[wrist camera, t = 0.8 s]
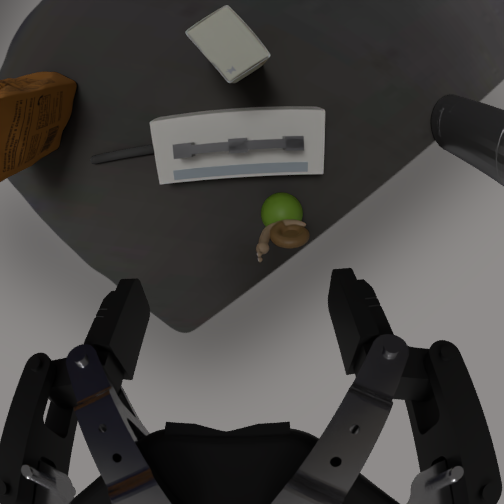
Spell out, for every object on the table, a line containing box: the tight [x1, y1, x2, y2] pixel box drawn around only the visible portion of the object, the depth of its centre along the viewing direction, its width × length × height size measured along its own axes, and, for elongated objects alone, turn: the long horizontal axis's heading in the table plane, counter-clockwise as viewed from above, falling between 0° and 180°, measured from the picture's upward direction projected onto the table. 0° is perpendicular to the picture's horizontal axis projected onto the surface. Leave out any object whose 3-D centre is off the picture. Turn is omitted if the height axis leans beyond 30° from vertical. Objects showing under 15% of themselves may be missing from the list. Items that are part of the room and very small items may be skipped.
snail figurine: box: [256, 193, 310, 262], centre depth 35 cm, size 5×6×12 cm
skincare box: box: [186, 5, 270, 83], centre depth 23 cm, size 6×4×12 cm
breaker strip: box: [90, 106, 325, 184], centre depth 33 cm, size 31×8×4 cm, turn 93°
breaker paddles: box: [173, 136, 304, 159], centre depth 30 cm, size 14×2×2 cm, turn 93°
